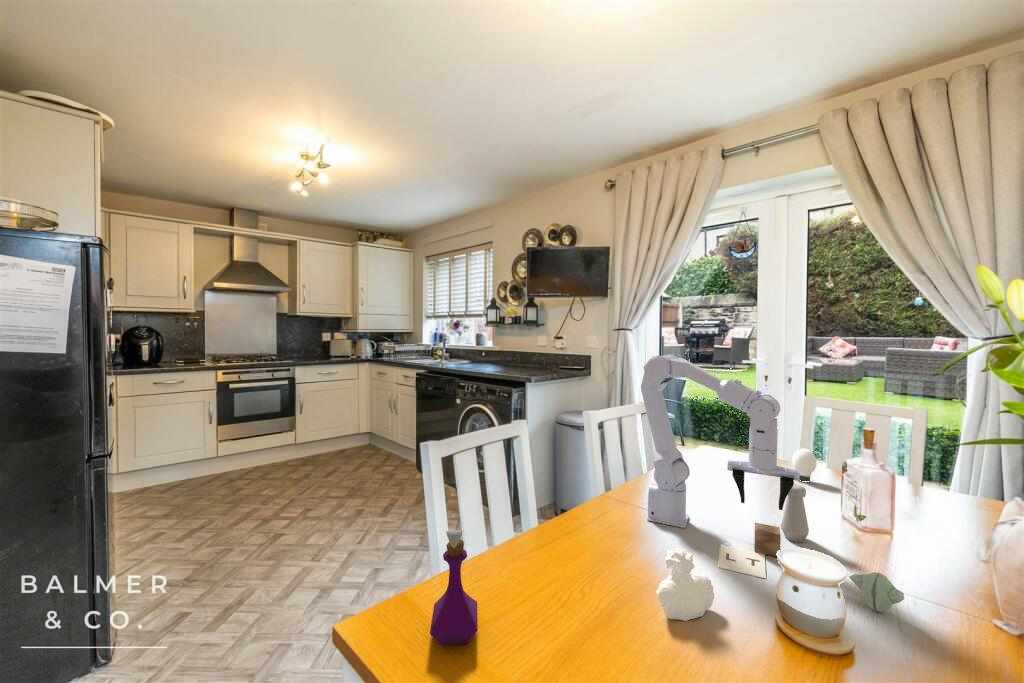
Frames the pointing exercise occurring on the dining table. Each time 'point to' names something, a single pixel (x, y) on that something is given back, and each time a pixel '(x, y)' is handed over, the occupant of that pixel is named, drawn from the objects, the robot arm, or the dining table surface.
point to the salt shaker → (795, 515)
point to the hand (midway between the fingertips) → (761, 505)
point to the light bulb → (804, 463)
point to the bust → (684, 588)
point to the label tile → (742, 561)
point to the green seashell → (877, 590)
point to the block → (767, 539)
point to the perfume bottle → (454, 600)
